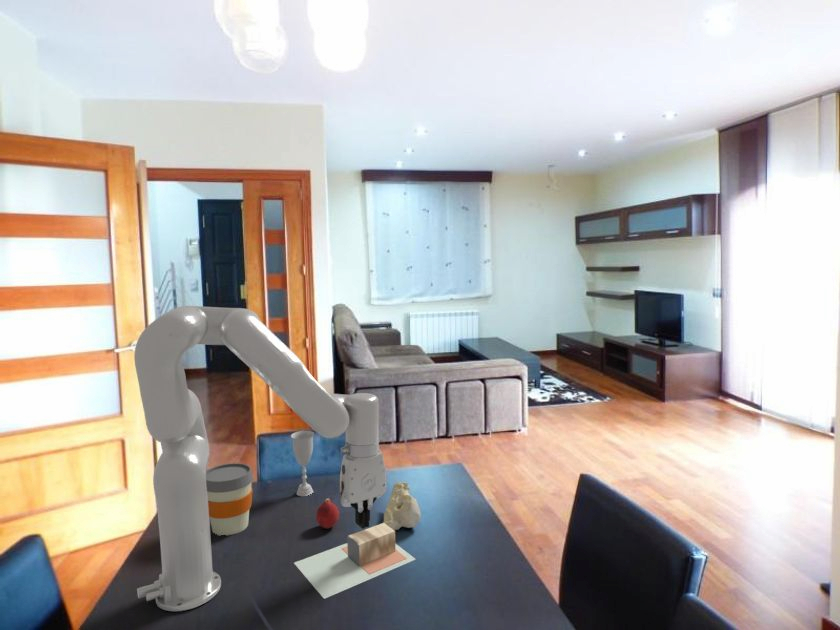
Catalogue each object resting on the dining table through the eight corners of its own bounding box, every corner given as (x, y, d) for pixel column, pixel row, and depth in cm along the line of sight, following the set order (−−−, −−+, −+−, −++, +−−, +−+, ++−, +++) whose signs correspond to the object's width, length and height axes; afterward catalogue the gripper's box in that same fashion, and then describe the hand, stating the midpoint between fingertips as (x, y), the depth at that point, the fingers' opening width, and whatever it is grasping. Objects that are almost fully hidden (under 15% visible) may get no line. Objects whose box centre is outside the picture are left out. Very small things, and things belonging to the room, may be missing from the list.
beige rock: (412, 550, 126) (442, 497, 134) (391, 533, 124) (422, 480, 132) (384, 542, 139) (412, 494, 147) (364, 527, 137) (394, 478, 145)
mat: (324, 601, 105) (324, 598, 105) (293, 564, 118) (293, 562, 118) (416, 561, 118) (415, 558, 118) (379, 532, 131) (379, 530, 131)
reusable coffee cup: (202, 543, 128) (199, 485, 126) (206, 519, 139) (203, 466, 138) (255, 533, 132) (253, 477, 130) (254, 511, 143) (252, 460, 142)
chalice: (313, 497, 152) (311, 438, 150) (290, 498, 152) (287, 438, 150) (318, 487, 159) (316, 430, 157) (296, 487, 159) (294, 430, 157)
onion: (334, 535, 130) (333, 505, 129) (313, 533, 131) (312, 503, 130) (342, 524, 136) (341, 495, 135) (322, 522, 137) (320, 493, 136)
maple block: (357, 545, 115) (395, 531, 121) (347, 536, 119) (383, 522, 125) (358, 566, 115) (395, 551, 121) (347, 556, 120) (384, 542, 125)
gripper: (340, 460, 110) (341, 542, 111) (398, 446, 118) (398, 522, 120) (324, 450, 116) (325, 528, 117) (381, 437, 124) (381, 510, 126)
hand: (362, 525), depth 119 cm, fingers closed
